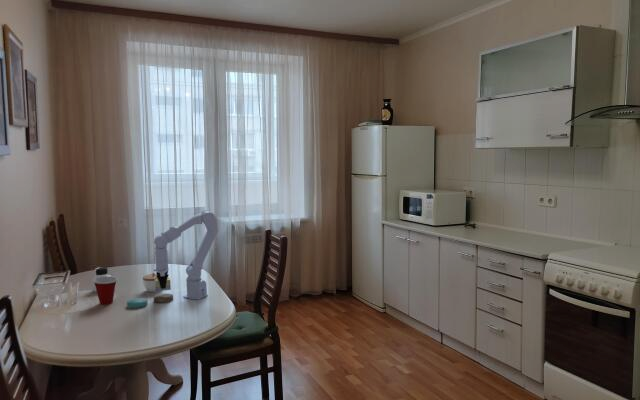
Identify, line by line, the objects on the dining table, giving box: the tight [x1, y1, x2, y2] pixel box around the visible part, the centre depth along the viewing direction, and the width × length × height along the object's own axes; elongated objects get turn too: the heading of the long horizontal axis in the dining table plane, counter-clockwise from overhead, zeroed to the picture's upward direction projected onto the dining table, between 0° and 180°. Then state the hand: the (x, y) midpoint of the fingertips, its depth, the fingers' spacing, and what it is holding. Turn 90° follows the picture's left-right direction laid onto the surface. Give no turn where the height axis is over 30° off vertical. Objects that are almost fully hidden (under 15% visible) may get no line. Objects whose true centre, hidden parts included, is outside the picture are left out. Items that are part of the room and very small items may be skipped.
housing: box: [155, 277, 172, 292], centre depth 232 cm, size 7×4×5 cm, turn 110°
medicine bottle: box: [91, 266, 112, 292], centre depth 252 cm, size 7×7×12 cm
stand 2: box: [153, 293, 174, 304], centre depth 233 cm, size 9×9×2 cm
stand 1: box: [126, 297, 148, 310], centre depth 225 cm, size 9×9×2 cm
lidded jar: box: [142, 272, 158, 293], centre depth 249 cm, size 11×11×9 cm
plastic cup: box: [93, 276, 118, 306], centre depth 229 cm, size 11×11×12 cm
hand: (163, 287), depth 232 cm, fingers closed on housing, 4 cm apart
